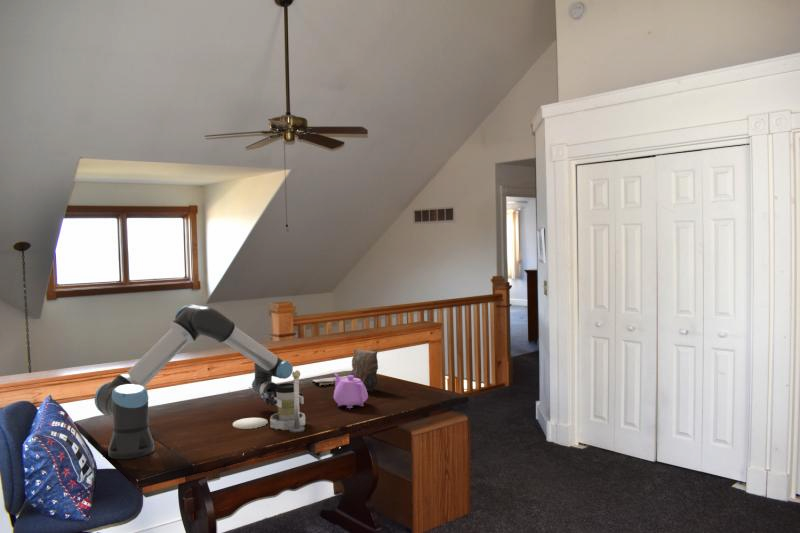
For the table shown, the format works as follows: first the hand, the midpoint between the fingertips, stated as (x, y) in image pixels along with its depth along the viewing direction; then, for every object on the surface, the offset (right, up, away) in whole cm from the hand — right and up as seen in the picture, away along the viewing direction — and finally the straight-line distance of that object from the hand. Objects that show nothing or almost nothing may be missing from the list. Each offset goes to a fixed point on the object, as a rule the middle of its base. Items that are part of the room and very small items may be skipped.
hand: (291, 402), depth 248 cm
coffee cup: (-3, -9, +4) cm, 10 cm away
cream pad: (-18, -10, +6) cm, 22 cm away
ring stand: (-2, -10, +2) cm, 10 cm away
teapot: (+20, -9, +34) cm, 41 cm away
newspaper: (+14, -8, +83) cm, 85 cm away
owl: (+24, -8, +62) cm, 67 cm away
